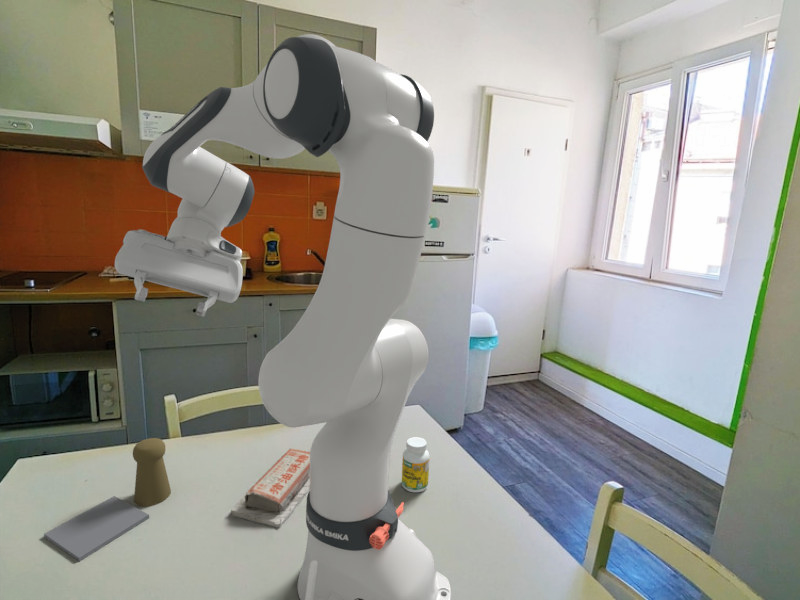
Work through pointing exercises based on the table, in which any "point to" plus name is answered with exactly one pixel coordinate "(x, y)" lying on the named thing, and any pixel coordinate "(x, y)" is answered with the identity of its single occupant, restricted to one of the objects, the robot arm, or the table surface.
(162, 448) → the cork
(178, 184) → the robot arm
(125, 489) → the table surface
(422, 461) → the supplement bottle
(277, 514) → the packaged product
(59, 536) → the mat
